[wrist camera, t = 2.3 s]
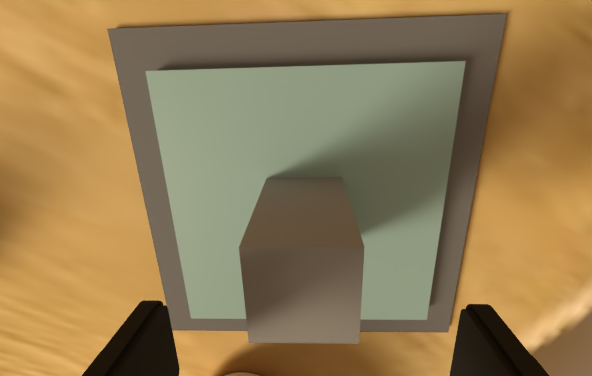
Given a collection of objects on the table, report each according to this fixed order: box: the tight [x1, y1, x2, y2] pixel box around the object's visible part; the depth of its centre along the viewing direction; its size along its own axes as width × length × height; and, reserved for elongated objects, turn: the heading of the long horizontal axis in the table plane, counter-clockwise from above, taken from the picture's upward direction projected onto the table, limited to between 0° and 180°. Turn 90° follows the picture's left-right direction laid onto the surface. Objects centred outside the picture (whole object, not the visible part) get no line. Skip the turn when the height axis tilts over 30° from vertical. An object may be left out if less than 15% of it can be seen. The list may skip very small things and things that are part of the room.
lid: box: [145, 61, 466, 344], centre depth 14 cm, size 15×15×8 cm
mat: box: [108, 14, 507, 332], centre depth 18 cm, size 19×19×1 cm
